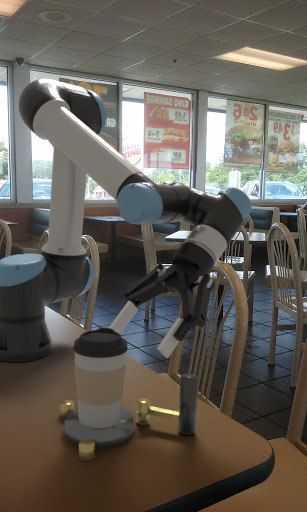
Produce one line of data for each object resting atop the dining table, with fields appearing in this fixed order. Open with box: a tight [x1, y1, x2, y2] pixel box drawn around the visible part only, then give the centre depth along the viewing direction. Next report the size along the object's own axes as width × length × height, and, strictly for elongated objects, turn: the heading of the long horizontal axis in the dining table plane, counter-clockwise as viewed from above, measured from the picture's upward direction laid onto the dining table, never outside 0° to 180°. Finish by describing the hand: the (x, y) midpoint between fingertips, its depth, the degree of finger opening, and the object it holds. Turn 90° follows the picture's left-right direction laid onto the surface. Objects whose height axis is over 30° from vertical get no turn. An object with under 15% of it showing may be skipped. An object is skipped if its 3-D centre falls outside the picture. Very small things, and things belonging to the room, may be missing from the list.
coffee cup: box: [72, 327, 129, 428], centre depth 79 cm, size 9×9×15 cm
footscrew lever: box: [135, 373, 199, 436], centre depth 81 cm, size 11×3×10 cm, turn 70°
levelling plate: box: [60, 399, 135, 462], centre depth 80 cm, size 16×12×2 cm
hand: (136, 342), depth 84 cm, fingers open, 13 cm apart
